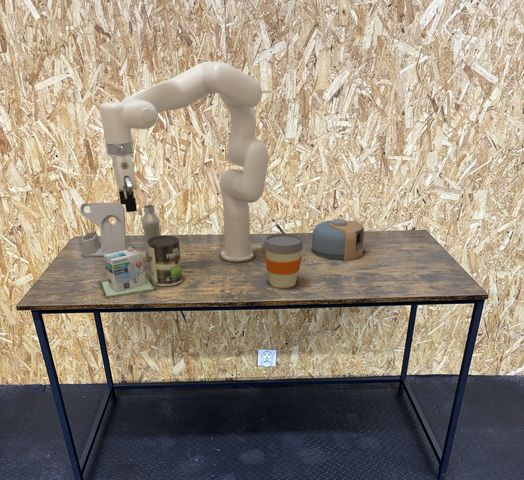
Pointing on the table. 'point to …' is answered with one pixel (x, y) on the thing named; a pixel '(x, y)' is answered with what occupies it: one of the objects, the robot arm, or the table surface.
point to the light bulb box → (124, 269)
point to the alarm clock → (338, 239)
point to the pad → (112, 292)
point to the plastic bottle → (150, 225)
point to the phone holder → (105, 229)
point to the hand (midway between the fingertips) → (128, 207)
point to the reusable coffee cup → (283, 259)
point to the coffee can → (165, 260)
